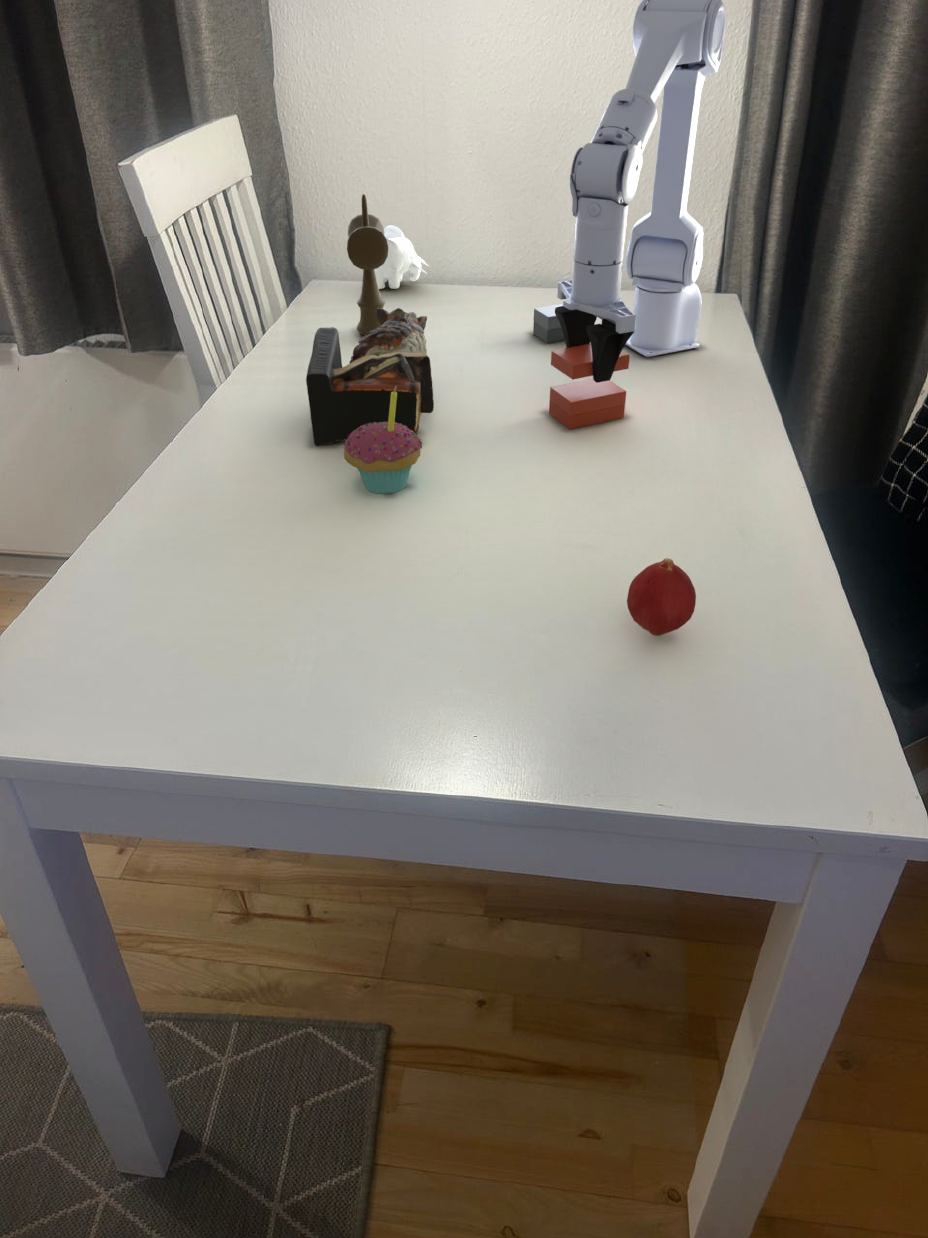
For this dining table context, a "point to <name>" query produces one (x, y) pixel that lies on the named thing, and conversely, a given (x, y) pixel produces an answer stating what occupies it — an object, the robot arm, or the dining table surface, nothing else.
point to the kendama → (367, 263)
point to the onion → (661, 598)
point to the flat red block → (581, 361)
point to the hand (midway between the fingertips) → (589, 371)
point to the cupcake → (383, 452)
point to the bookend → (370, 377)
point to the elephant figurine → (398, 260)
